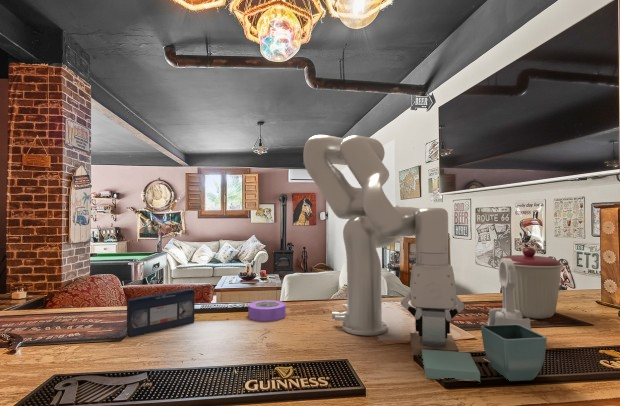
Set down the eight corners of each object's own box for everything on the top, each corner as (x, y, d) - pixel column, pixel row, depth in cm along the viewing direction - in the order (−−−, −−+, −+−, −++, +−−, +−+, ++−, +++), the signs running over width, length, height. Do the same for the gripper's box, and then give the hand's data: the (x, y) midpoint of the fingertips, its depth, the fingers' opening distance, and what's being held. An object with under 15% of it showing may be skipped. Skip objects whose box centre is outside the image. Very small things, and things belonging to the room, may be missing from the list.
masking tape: (266, 309, 126) (265, 297, 126) (293, 314, 119) (293, 302, 119) (240, 317, 116) (240, 305, 116) (268, 324, 109) (268, 311, 109)
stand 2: (426, 378, 74) (425, 368, 74) (421, 358, 83) (421, 349, 83) (480, 382, 72) (480, 372, 72) (469, 361, 81) (469, 352, 81)
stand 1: (412, 355, 85) (412, 347, 85) (410, 340, 95) (410, 332, 95) (458, 359, 83) (458, 350, 83) (451, 343, 92) (451, 335, 93)
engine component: (493, 344, 92) (538, 346, 90) (492, 261, 92) (537, 262, 90) (482, 329, 102) (522, 332, 100) (481, 255, 103) (521, 256, 101)
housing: (446, 347, 84) (445, 312, 84) (423, 346, 85) (422, 311, 85) (441, 335, 92) (440, 303, 92) (420, 334, 93) (420, 302, 93)
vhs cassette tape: (129, 338, 98) (129, 300, 98) (125, 335, 100) (125, 298, 100) (195, 323, 110) (195, 289, 110) (191, 321, 112) (191, 288, 112)
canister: (489, 305, 127) (488, 244, 127) (546, 307, 125) (545, 244, 125) (510, 322, 109) (509, 250, 109) (577, 324, 107) (576, 250, 107)
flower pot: (479, 367, 79) (479, 324, 79) (519, 365, 79) (518, 323, 79) (504, 387, 70) (504, 339, 70) (549, 385, 71) (548, 337, 71)
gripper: (395, 260, 87) (396, 338, 87) (473, 262, 83) (474, 343, 83) (395, 256, 94) (395, 328, 94) (466, 258, 91) (467, 332, 91)
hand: (432, 334), depth 89 cm, fingers closed on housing, 5 cm apart
